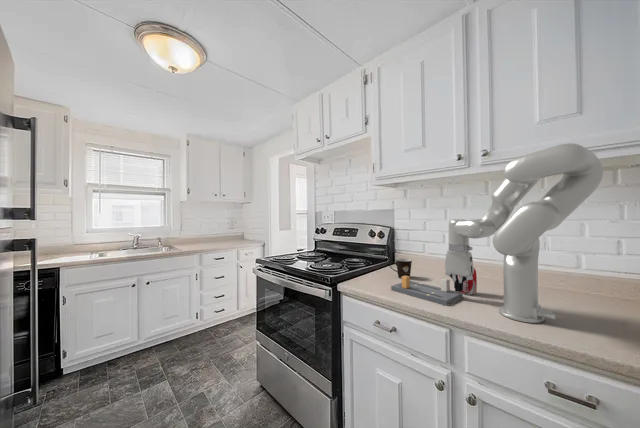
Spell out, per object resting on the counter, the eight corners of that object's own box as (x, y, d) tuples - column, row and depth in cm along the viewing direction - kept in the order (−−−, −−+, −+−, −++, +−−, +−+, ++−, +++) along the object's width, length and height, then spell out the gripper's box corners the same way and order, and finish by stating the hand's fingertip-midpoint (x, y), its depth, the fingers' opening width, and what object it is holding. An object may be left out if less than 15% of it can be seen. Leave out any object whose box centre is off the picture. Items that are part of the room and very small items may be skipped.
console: (462, 297, 107) (462, 292, 107) (446, 305, 98) (446, 300, 98) (409, 284, 127) (408, 280, 127) (391, 290, 118) (391, 285, 118)
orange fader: (410, 287, 115) (409, 276, 115) (406, 288, 113) (406, 277, 113) (405, 285, 117) (405, 275, 117) (401, 287, 115) (401, 276, 115)
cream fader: (449, 290, 110) (449, 278, 110) (446, 291, 108) (446, 280, 108) (444, 289, 112) (444, 277, 112) (440, 290, 110) (440, 278, 110)
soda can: (479, 296, 108) (479, 268, 108) (461, 295, 109) (461, 268, 109) (473, 291, 115) (472, 265, 115) (456, 290, 116) (456, 265, 116)
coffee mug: (412, 276, 143) (412, 259, 143) (410, 279, 135) (410, 261, 135) (392, 274, 148) (392, 257, 148) (389, 277, 141) (389, 260, 141)
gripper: (481, 249, 101) (481, 293, 102) (445, 245, 113) (445, 285, 113) (474, 251, 97) (474, 297, 97) (436, 247, 109) (437, 288, 109)
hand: (458, 291), depth 105 cm, fingers closed
